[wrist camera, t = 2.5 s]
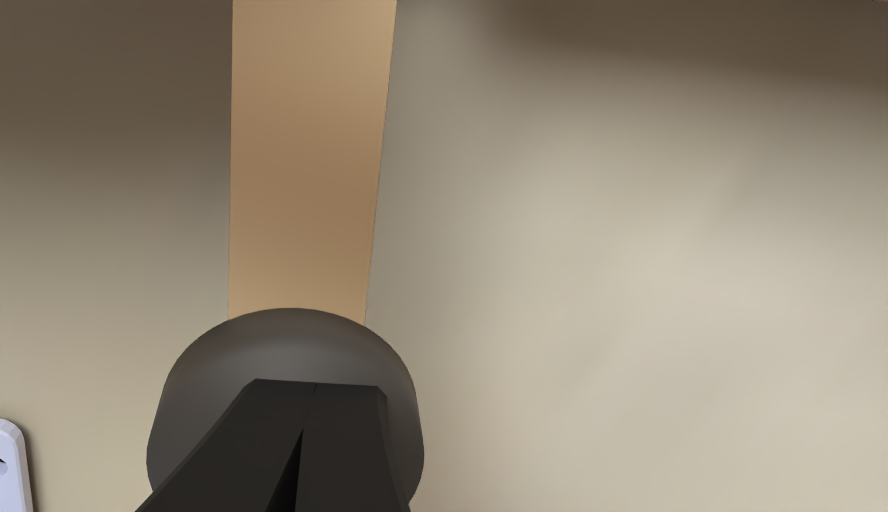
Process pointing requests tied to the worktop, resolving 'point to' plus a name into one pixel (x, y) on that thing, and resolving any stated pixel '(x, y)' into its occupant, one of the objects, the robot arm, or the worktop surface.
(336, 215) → the lever
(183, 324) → the worktop surface
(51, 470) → the worktop surface
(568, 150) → the worktop surface
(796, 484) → the worktop surface
